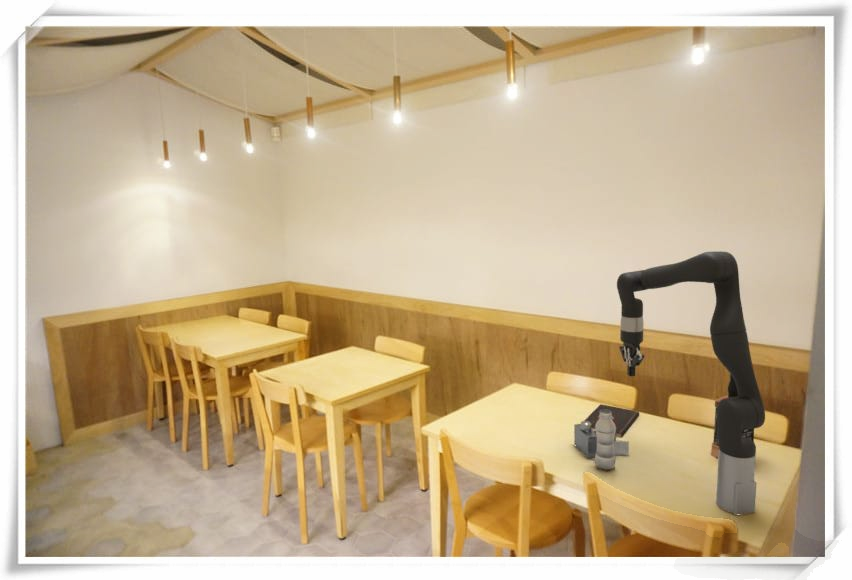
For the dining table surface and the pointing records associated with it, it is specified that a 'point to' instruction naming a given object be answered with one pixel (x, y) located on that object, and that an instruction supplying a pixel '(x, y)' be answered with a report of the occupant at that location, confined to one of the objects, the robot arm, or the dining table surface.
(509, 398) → the dining table surface
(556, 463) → the dining table surface
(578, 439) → the motor housing
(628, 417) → the hardcover book
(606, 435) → the plastic bottle
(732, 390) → the whiskey bottle
